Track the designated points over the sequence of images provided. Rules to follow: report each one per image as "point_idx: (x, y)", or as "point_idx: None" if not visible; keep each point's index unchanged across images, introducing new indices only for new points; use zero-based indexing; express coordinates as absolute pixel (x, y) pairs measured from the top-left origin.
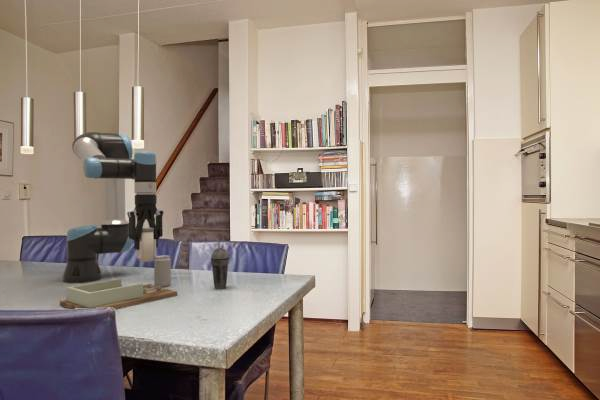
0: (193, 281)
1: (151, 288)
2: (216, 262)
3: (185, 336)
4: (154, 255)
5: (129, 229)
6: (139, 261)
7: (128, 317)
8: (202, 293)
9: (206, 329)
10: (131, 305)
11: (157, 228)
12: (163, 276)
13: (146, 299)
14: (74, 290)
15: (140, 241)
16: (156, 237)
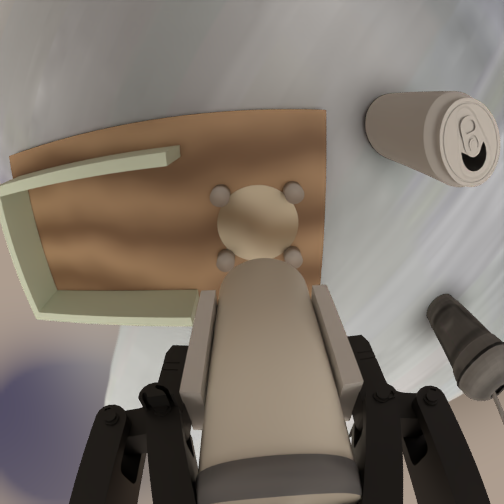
0: None
1: (291, 207)
2: (455, 375)
3: None
4: None
5: (81, 486)
6: (220, 287)
7: (123, 372)
8: (370, 329)
9: (198, 456)
10: None
11: (428, 471)
12: (397, 161)
13: None
14: (7, 240)
15: (194, 425)
16: (358, 431)
